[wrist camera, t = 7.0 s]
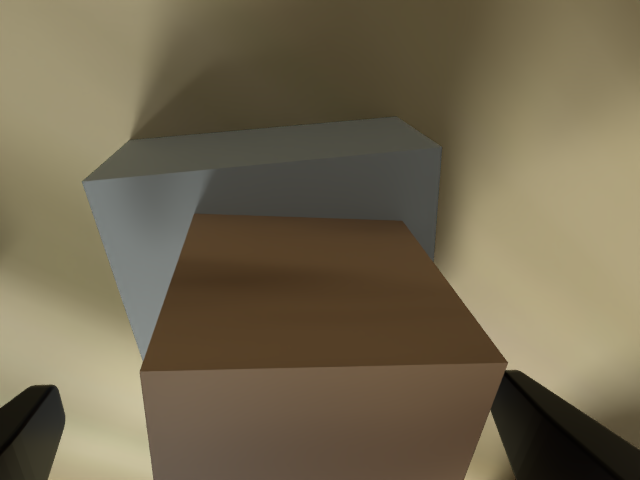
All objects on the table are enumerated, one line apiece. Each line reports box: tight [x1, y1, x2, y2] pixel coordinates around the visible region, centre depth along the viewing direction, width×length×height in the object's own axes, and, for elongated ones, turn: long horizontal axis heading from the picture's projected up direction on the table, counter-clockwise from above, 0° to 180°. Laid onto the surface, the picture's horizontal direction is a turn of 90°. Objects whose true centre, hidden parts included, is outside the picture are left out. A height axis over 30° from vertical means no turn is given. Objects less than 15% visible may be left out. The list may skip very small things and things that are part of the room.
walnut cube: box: [140, 214, 508, 480], centre depth 9 cm, size 5×5×5 cm
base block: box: [82, 117, 442, 360], centre depth 13 cm, size 8×8×4 cm
